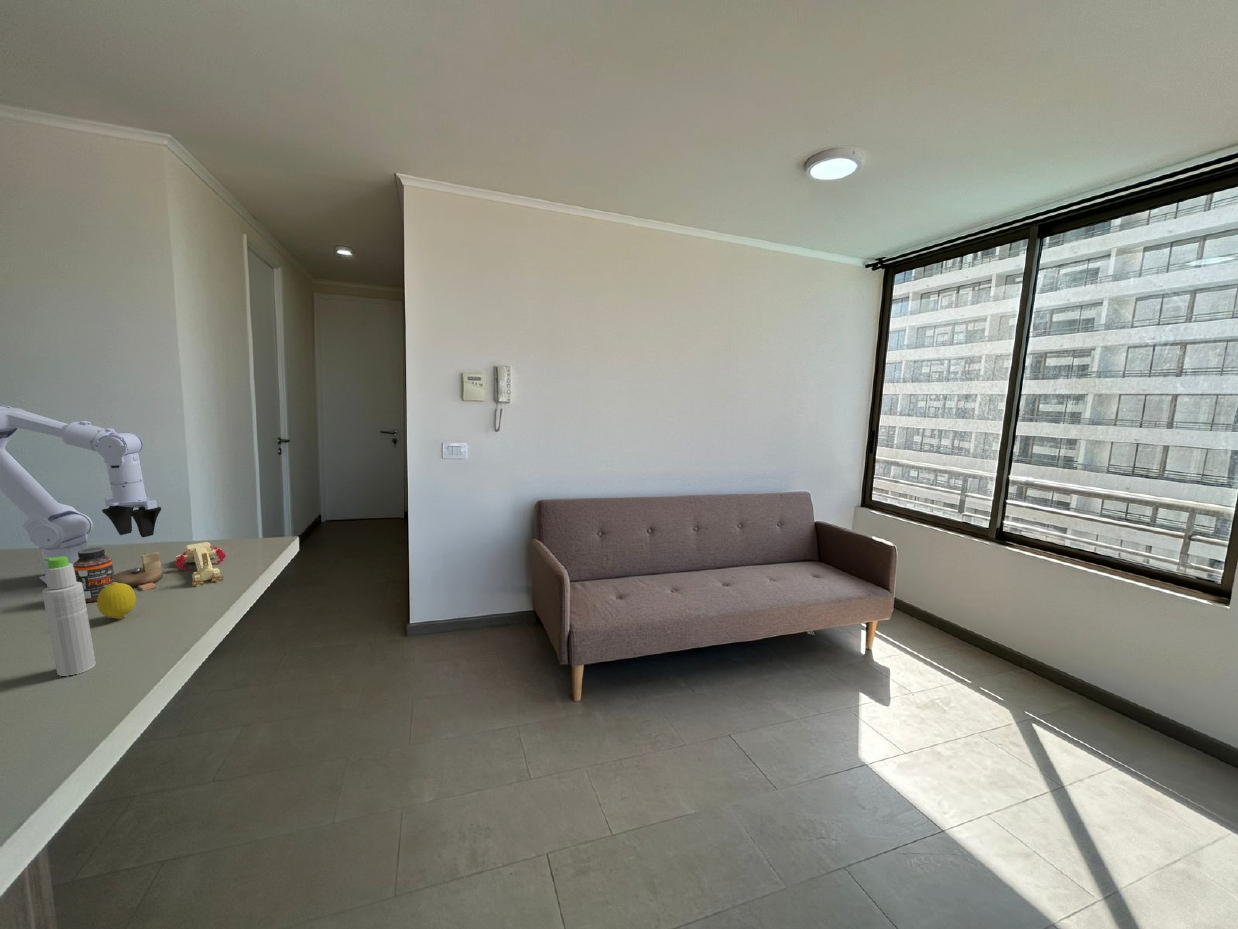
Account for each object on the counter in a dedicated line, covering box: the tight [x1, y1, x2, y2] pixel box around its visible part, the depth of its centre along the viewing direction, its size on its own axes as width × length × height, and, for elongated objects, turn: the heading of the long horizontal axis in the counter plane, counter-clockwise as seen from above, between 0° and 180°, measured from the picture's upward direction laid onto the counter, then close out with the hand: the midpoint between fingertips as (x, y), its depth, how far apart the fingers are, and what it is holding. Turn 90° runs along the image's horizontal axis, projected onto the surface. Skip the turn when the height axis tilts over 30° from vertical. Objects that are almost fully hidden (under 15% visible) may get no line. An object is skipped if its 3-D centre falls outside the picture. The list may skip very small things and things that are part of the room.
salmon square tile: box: [138, 582, 157, 591], centre depth 114 cm, size 2×2×1 cm
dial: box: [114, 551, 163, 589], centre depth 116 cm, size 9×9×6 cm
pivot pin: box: [130, 567, 141, 573], centre depth 116 cm, size 2×2×1 cm
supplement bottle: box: [73, 546, 115, 603], centre depth 107 cm, size 6×6×11 cm
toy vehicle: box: [175, 541, 226, 587], centre depth 125 cm, size 10×9×25 cm
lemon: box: [96, 582, 137, 620], centre depth 98 cm, size 6×6×8 cm
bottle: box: [41, 556, 97, 676], centre depth 80 cm, size 4×4×20 cm
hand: (136, 535), depth 120 cm, fingers open, 7 cm apart
